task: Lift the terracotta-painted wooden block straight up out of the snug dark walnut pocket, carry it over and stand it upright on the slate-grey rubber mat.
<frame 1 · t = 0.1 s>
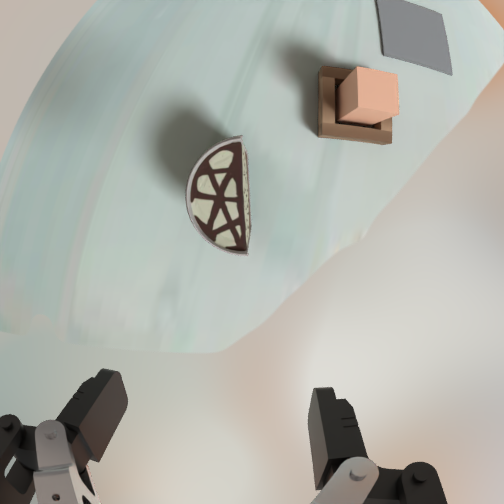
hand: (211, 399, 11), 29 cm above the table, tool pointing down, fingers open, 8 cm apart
walnut pocket: (351, 107, 33), on the table
rubber mat: (415, 32, 29), on the table
terracotta block: (363, 100, 29), in the walnut pocket
food container: (225, 191, 38), on the table
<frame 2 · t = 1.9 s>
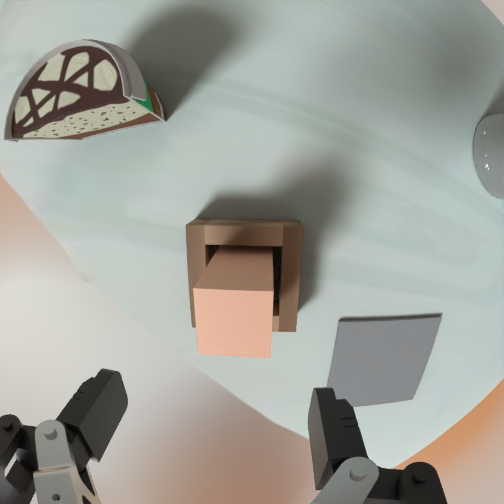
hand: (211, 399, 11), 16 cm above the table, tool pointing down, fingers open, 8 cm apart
walnut pocket: (246, 269, 27), on the table
rubber mat: (381, 365, 29), on the table
terracotta block: (241, 291, 22), in the walnut pocket
food container: (120, 100, 23), on the table
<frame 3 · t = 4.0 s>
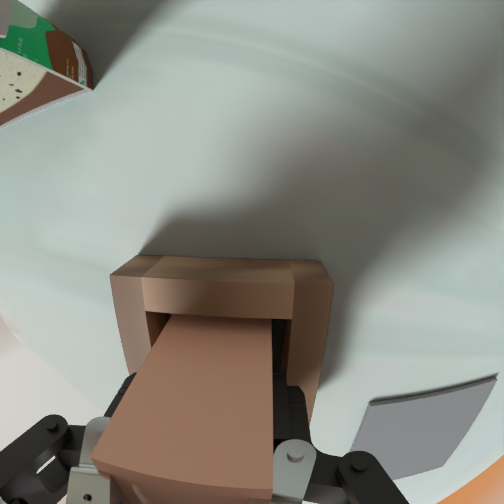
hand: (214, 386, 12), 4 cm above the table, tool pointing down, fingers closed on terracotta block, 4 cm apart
walnut pocket: (226, 339, 15), on the table
rubber mat: (415, 441, 18), on the table
terracotta block: (211, 404, 10), in the walnut pocket, touching gripper
food container: (38, 68, 12), on the table
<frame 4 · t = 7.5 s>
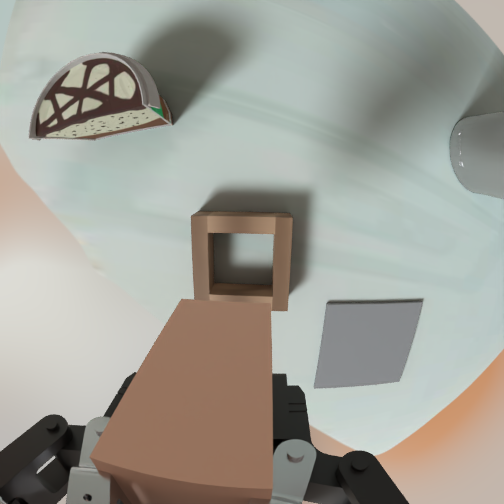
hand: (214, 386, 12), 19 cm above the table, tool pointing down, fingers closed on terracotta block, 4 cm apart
walnut pocket: (243, 256, 30), on the table
rubber mat: (367, 347, 32), on the table
terracotta block: (211, 404, 10), point 20 cm above the table, touching gripper
food container: (131, 105, 26), on the table
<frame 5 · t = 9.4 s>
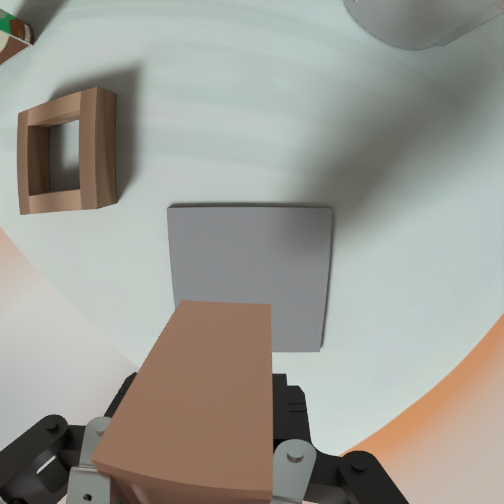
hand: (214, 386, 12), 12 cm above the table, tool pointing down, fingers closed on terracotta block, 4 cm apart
walnut pocket: (72, 154, 21), on the table
rubber mat: (248, 284, 23), on the table
terracotta block: (211, 405, 10), point 13 cm above the table, touching gripper
food container: (11, 41, 17), on the table
when the fingers open (6 cm above the table, at t = 10.9 s): terracotta block drops 1 cm, resting on rubber mat.
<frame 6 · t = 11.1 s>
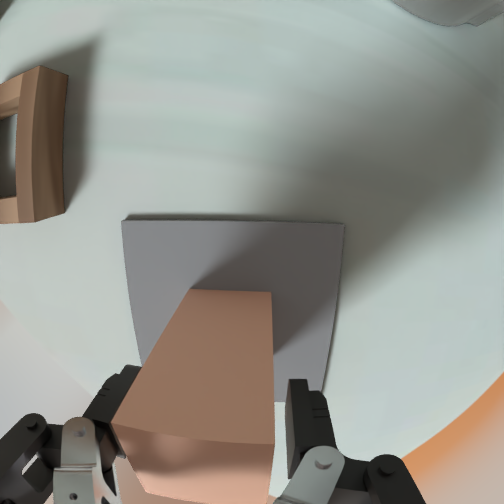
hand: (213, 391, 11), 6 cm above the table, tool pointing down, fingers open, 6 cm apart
walnut pocket: (18, 152, 15), on the table
rubber mat: (229, 322, 17), on the table
terracotta block: (217, 382, 12), on the rubber mat
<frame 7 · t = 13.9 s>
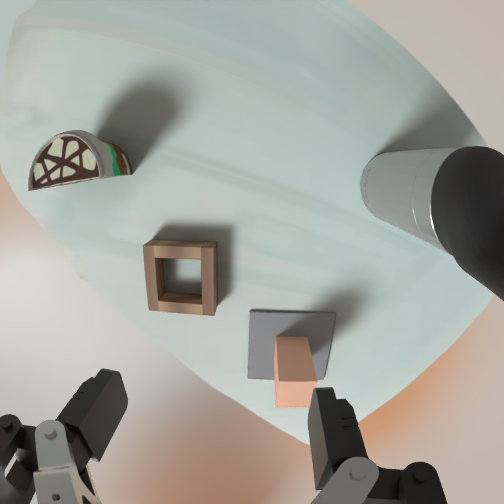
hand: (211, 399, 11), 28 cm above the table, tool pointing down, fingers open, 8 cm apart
walnut pocket: (184, 273, 39), on the table
rubber mat: (289, 347, 42), on the table
terracotta block: (292, 370, 37), on the rubber mat
food container: (102, 157, 35), on the table
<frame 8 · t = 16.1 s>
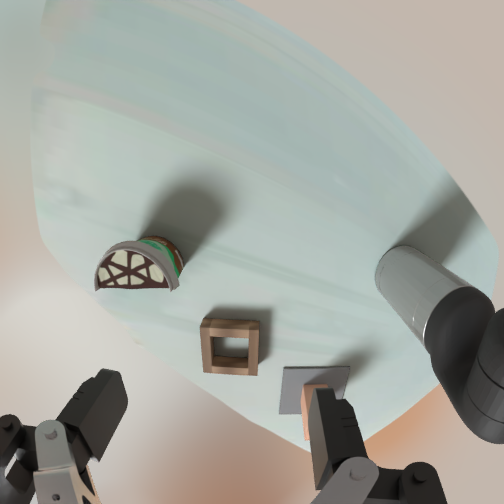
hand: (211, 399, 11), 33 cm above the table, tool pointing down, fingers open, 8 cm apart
walnut pocket: (231, 342, 48), on the table
rubber mat: (312, 391, 50), on the table
terracotta block: (316, 411, 45), on the rubber mat
food container: (154, 247, 44), on the table
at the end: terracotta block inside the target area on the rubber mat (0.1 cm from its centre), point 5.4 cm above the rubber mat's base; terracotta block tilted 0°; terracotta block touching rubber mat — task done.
